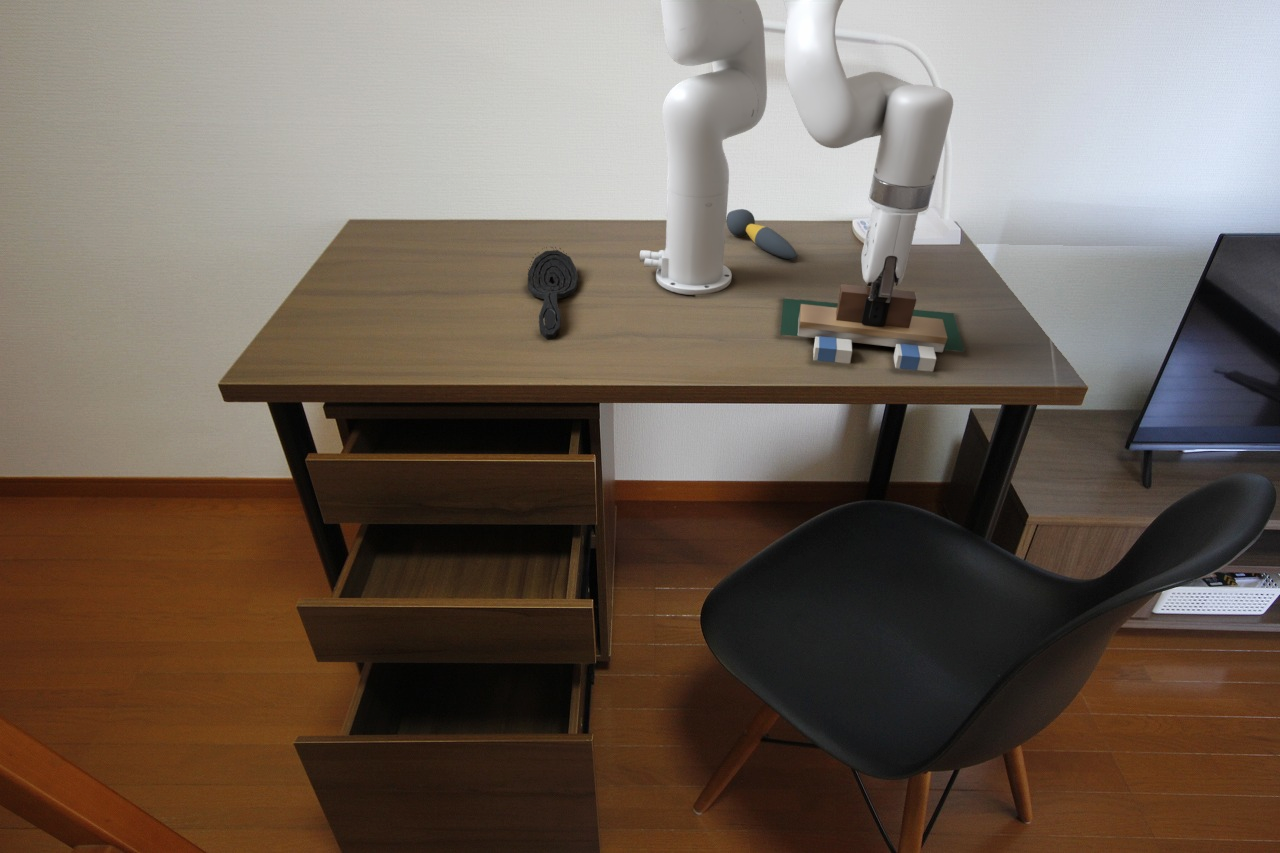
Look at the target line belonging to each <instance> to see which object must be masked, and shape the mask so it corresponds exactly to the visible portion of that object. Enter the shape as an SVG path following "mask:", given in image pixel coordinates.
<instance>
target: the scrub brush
mask: <svg viewBox="0 0 1280 853" xmlns="http://www.w3.org/2000/svg"><path fill="white" fill-rule="evenodd" d="M870 289H871V286H863V285H855V284H844V283H842V284H840V290H839V296H838V300H837V303H838V305H837V308H834V307H825V306H815V305H806V304H801V307H800V313H799V319H798V336H797V337H801V336H802V338H810V339H815V337H819V336H822V337H833V338H838V339H849V340H852V343H855V344H865V345H874V346H881V347H882V346H883V347H891V348H896V344H908V345H918V346H926V347H934V351H935V353H943V352H944V351H945V350H944V346H945V344H946V341H947V334H946V331H945V327H944V323H943V319H935V318H926V317H917V316H912V315H913V311H914V310H915V307H916V303H917V295H916V292H915V291H913V290H902V289H894V288H893V290H892V295H891V299H890V300H891V302H890V306H889V311H888V315H887V319H886V323H885V326H884V327H879V326H869V325H863V324H862V316H863V311H864V306H865V302H866V297H869V293H870Z"/></svg>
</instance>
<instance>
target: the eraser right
mask: <svg viewBox="0 0 1280 853" xmlns="http://www.w3.org/2000/svg"><path fill="white" fill-rule="evenodd" d="M893 362H894V368H895V369H900V370H910V371H922V372H934V370H935V366H936V362H937V356H936V352H935V351H934V347H926V346H918V345H908V344H896V347H894V353H893Z"/></svg>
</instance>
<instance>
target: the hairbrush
mask: <svg viewBox="0 0 1280 853" xmlns="http://www.w3.org/2000/svg"><path fill="white" fill-rule="evenodd" d="M554 248H555V249H554ZM543 249H544V250H545V249H548V247H547V246H546V247H543V248H541V250H543ZM544 250H543V251H542V252H541V253H540V251H537V253H534V255H535V256H536V257H534V256H533V257H532V259H534V260H531V263H532V264H531V263H529V265H530V266H528V268H527V270H528V271H527V290H528V291H529V293H530V294H531V295H532V296H533V297H535V298H539V299H543V302H542V305H541V306H542V307H541V309H540V312H539V314H538V326H539V327H538V328H539V332H540V335H541V336H542V337H543V338H545V339H546V340H554V339H555V338H556V337H557V335H559V333H560V332H561V327H562V315H561V312H560V308H559V306H558V299H563V298H566V297H570V296H572V294H574V292H575V291H577V288H578V284H579V276H578V271H577V267H576V265H575V263H574V261H573V260H572V258H571V256H569V255H568V254H567V252H565V251H564V250H563V251H561V250H562V248H561V247H559V250H558V249H557V247H556V246H555V247H553V246H551V250H545V251H544ZM538 253H539V254H538ZM537 254H538V256H537Z"/></svg>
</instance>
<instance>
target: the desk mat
mask: <svg viewBox="0 0 1280 853" xmlns="http://www.w3.org/2000/svg"><path fill="white" fill-rule="evenodd" d="M801 304H806V305H815V306H825V307H834V308H837V305H838V302H827V301H815V300H803V299H791V298H783V300H782V310H781V311H782V312H781V323H780V333H779V334H780V336H792V337H799V336H798V319H799V313H800V307H801ZM912 316H917V317H926V318H935V319H943V323H944V327H945V331H946V334H947V341H946V344H945V346H944V350H943V351H952V352H963V353H965V352H966V351H965V348H964V345H963V341H962V339H961V334H960V332H959V327H958V324H957V322H956V318H955V314H954V313H953V312H944V311H932V310H920V309H914V311H913V315H912ZM800 337H802V336H800ZM802 338H803V337H802Z"/></svg>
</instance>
